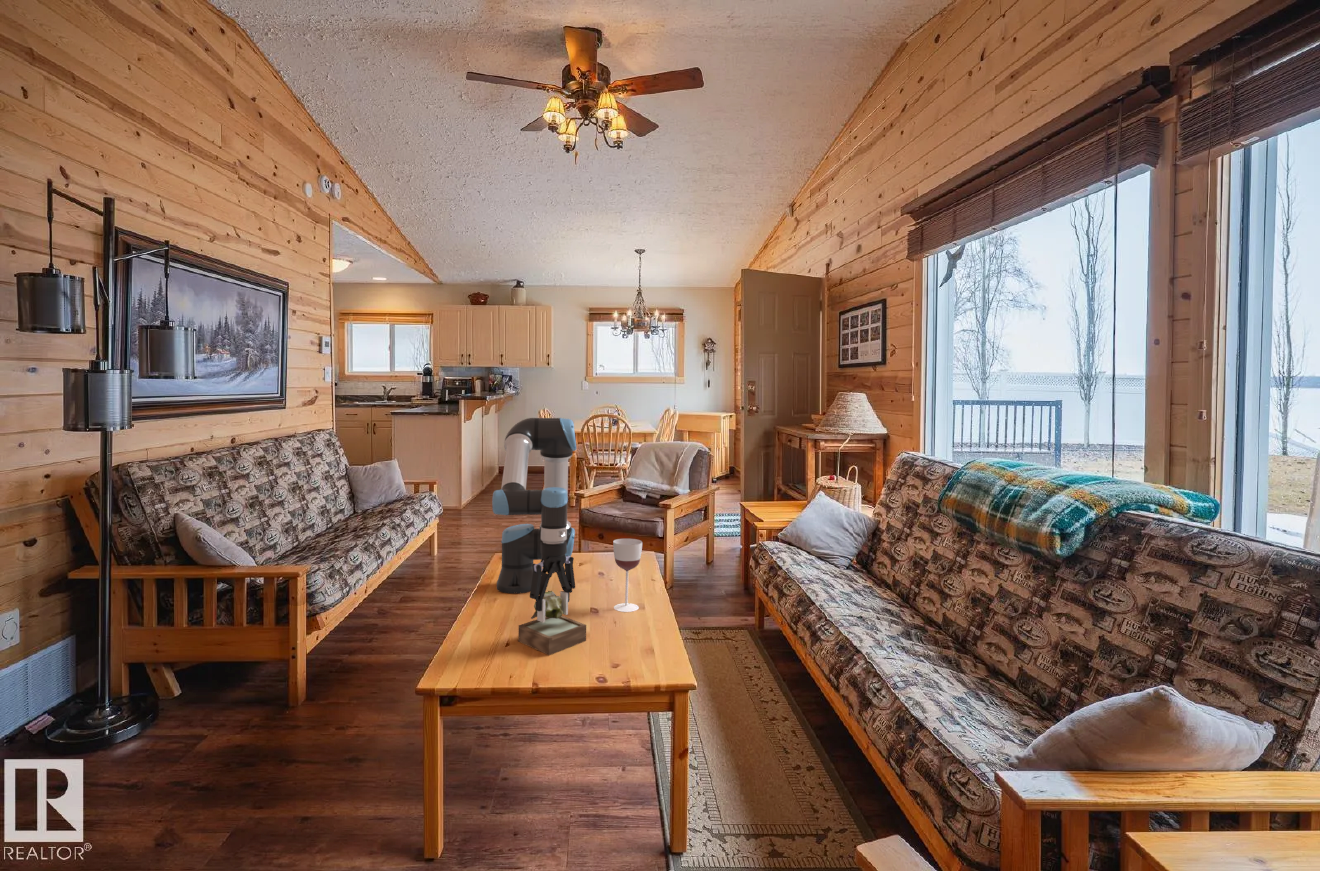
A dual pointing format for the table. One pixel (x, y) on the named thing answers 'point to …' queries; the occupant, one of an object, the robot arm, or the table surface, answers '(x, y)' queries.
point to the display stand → (552, 634)
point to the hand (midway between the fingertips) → (552, 617)
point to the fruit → (551, 606)
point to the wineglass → (627, 565)
